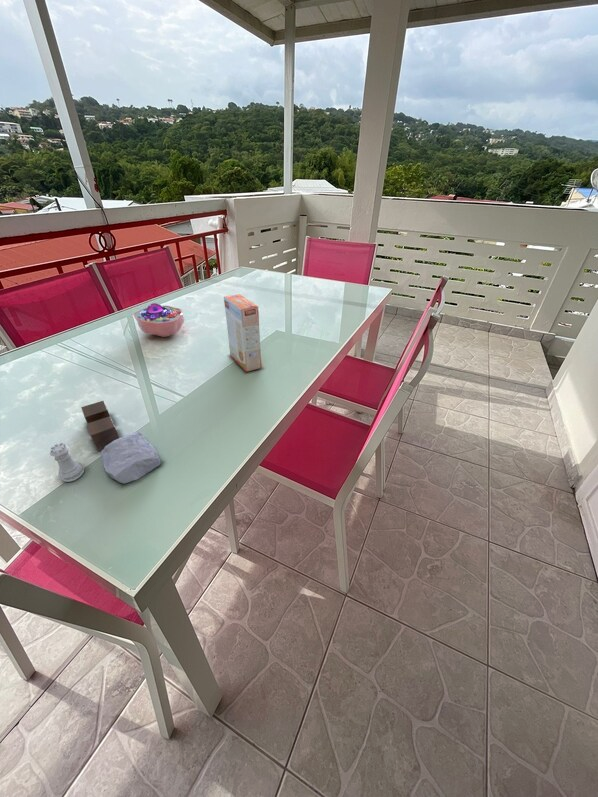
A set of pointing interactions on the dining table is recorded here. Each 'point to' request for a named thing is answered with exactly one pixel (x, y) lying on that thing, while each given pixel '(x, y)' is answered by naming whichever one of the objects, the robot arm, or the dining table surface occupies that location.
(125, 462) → the stone block
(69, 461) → the rook chess piece
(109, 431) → the walnut block near
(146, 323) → the cell model
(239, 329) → the cracker box
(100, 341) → the dining table surface
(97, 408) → the walnut block far
